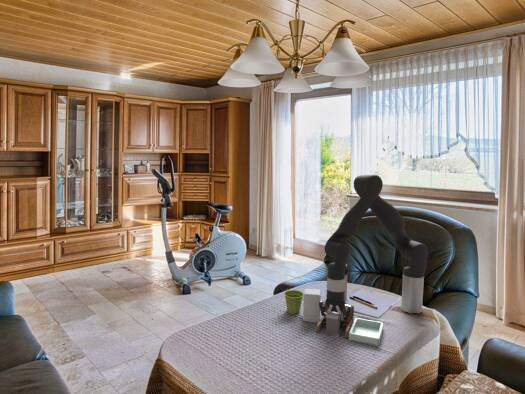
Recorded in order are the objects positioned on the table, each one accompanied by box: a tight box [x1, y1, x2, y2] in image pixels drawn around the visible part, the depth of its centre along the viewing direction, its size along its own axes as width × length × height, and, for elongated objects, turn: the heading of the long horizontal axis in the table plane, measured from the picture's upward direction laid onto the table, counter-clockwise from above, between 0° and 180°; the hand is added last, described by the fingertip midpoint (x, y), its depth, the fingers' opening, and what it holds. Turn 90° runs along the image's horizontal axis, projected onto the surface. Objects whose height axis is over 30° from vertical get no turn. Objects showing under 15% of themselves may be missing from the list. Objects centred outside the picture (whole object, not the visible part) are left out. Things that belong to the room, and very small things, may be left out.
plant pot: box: [283, 289, 304, 314], centre depth 180 cm, size 9×9×9 cm
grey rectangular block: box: [325, 312, 342, 337], centre depth 162 cm, size 10×5×8 cm, turn 157°
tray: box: [348, 317, 384, 347], centre depth 158 cm, size 16×12×3 cm
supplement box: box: [302, 288, 322, 323], centre depth 173 cm, size 7×7×13 cm
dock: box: [315, 303, 355, 340], centre depth 163 cm, size 13×13×9 cm
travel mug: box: [345, 263, 349, 300], centre depth 196 cm, size 8×8×18 cm
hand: (334, 326), depth 162 cm, fingers closed on grey rectangular block, 5 cm apart
